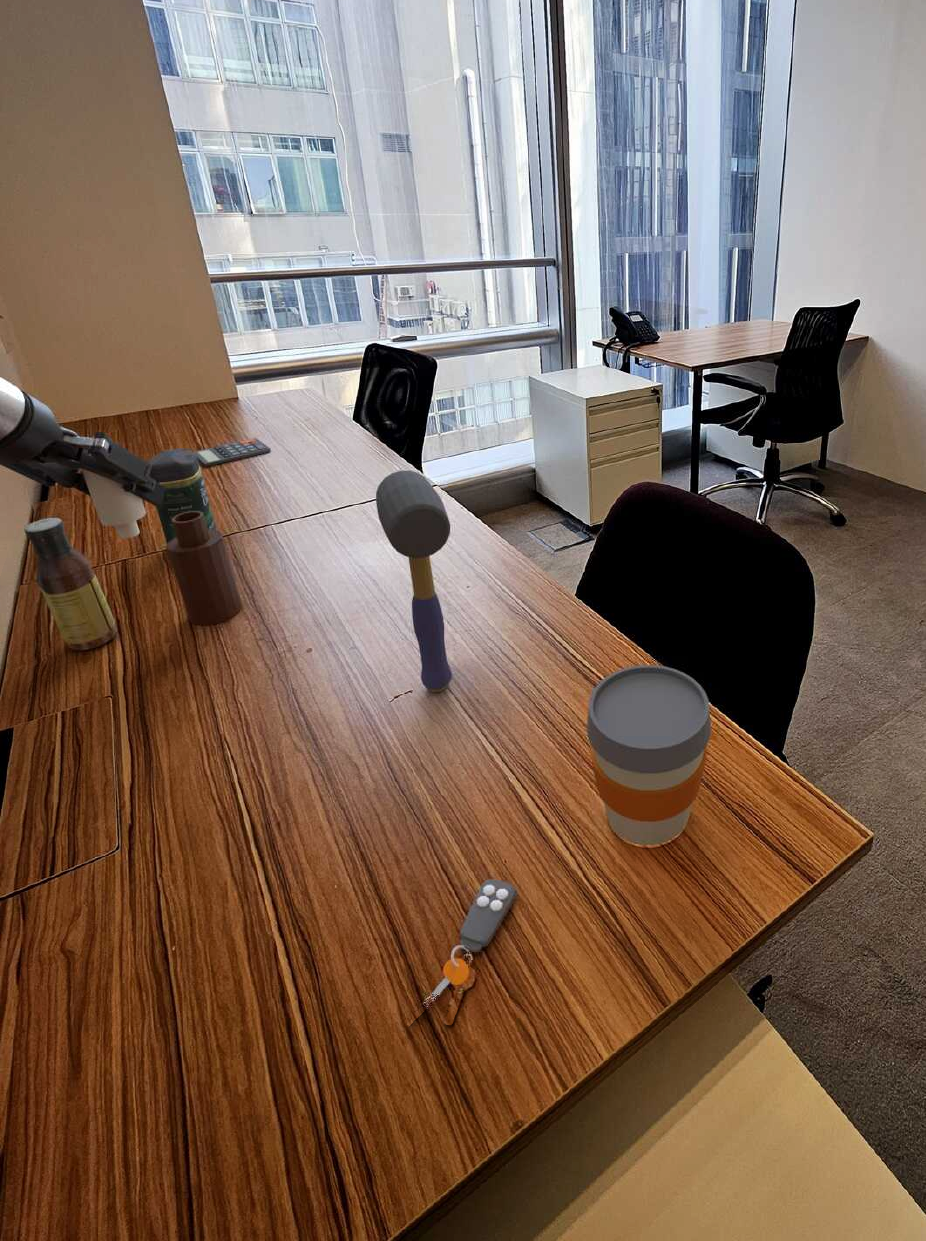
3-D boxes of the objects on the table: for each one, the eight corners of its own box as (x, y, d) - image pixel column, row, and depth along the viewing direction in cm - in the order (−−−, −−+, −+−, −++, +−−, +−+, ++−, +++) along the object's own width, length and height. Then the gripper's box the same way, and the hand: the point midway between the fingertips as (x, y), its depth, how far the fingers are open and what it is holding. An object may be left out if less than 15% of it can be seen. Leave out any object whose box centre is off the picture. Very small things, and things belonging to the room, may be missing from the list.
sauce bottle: (89, 627, 104) (43, 511, 96) (129, 628, 104) (86, 512, 96) (54, 654, 98) (1, 532, 90) (96, 655, 98) (47, 533, 90)
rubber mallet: (476, 706, 88) (451, 497, 76) (418, 724, 85) (381, 510, 73) (455, 652, 98) (429, 461, 86) (402, 667, 95) (367, 471, 83)
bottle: (180, 626, 104) (147, 528, 97) (204, 600, 111) (175, 507, 104) (228, 624, 105) (199, 527, 98) (250, 599, 111) (224, 505, 104)
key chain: (484, 883, 66) (483, 873, 65) (519, 894, 65) (518, 883, 64) (405, 1028, 54) (403, 1017, 54) (446, 1043, 53) (444, 1032, 53)
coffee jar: (216, 553, 125) (189, 460, 118) (166, 561, 122) (135, 466, 115) (223, 531, 133) (198, 442, 126) (176, 538, 130) (148, 448, 123)
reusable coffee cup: (724, 846, 69) (732, 734, 63) (605, 878, 66) (602, 764, 60) (682, 756, 80) (686, 654, 74) (579, 780, 77) (574, 675, 71)
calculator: (270, 447, 173) (204, 463, 163) (271, 451, 173) (205, 466, 164) (255, 437, 181) (191, 451, 171) (256, 440, 181) (192, 454, 171)
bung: (98, 544, 86) (69, 467, 82) (122, 526, 90) (96, 453, 86) (137, 543, 86) (111, 466, 82) (159, 526, 91) (135, 452, 86)
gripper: (-117, 451, 67) (61, 525, 88) (71, 448, 68) (202, 521, 89) (-91, 385, 69) (76, 472, 91) (90, 383, 70) (213, 469, 92)
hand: (138, 496), depth 90 cm, fingers closed on bung, 5 cm apart
